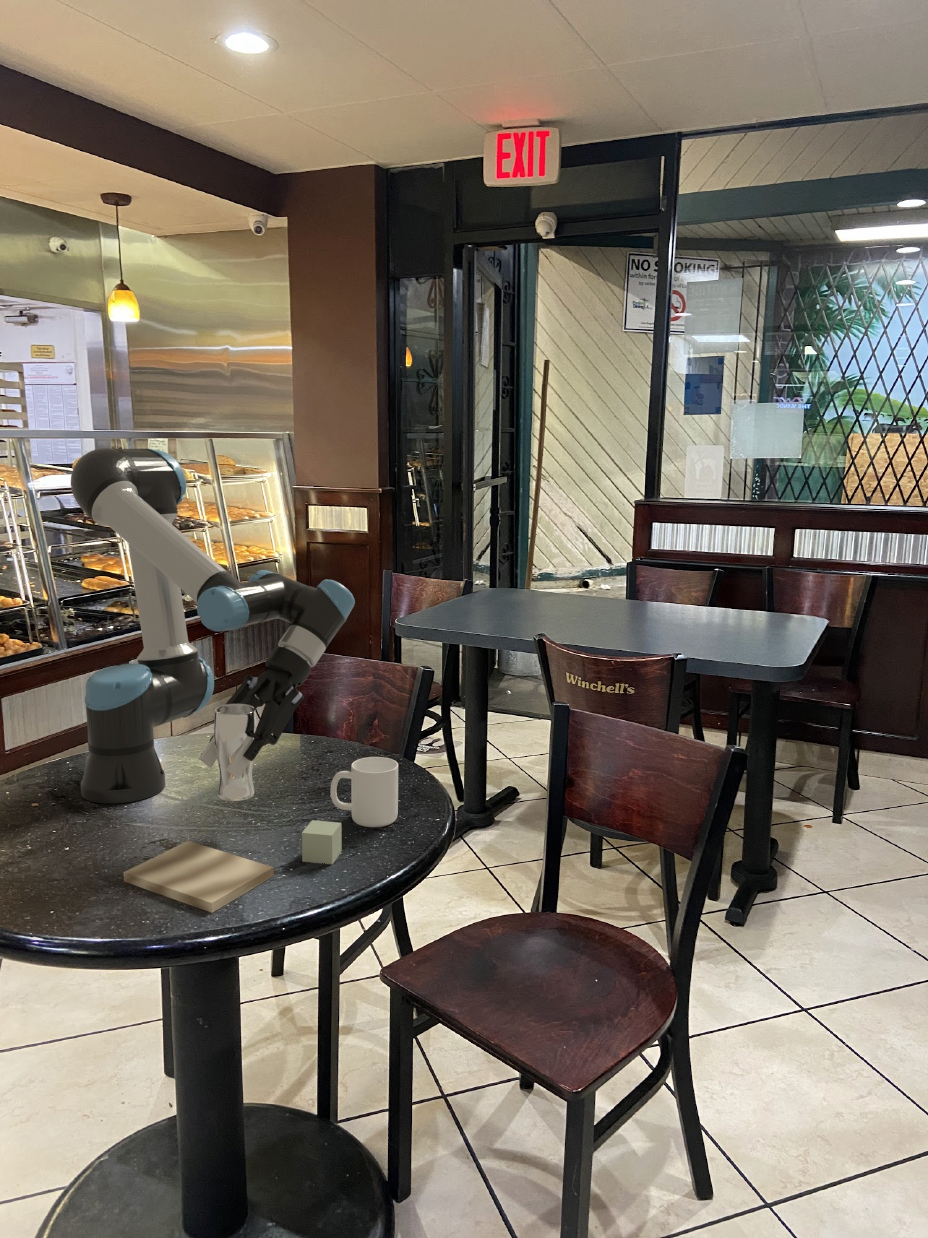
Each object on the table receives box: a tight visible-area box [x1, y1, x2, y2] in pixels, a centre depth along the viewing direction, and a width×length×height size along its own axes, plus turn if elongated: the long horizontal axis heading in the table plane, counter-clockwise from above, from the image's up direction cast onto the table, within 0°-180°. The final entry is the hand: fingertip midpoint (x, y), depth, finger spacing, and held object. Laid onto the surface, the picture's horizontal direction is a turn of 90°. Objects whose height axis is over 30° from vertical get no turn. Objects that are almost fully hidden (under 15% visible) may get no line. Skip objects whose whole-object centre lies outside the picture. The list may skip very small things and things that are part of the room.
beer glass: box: [213, 704, 258, 802], centre depth 149 cm, size 7×7×15 cm
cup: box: [330, 756, 399, 828], centre depth 158 cm, size 8×12×10 cm
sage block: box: [301, 819, 343, 865], centre depth 143 cm, size 5×5×5 cm
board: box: [123, 840, 275, 914], centre depth 135 cm, size 18×13×2 cm
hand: (218, 768), depth 146 cm, fingers closed on beer glass, 7 cm apart
